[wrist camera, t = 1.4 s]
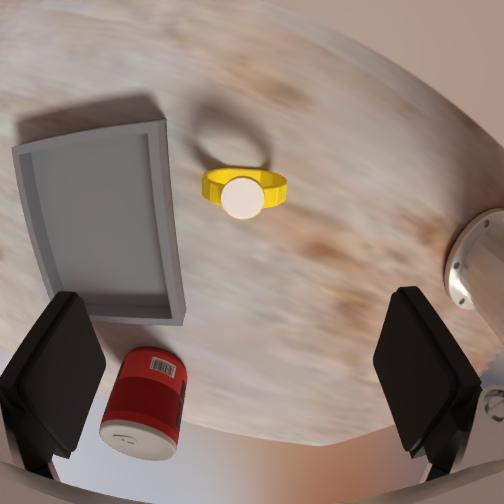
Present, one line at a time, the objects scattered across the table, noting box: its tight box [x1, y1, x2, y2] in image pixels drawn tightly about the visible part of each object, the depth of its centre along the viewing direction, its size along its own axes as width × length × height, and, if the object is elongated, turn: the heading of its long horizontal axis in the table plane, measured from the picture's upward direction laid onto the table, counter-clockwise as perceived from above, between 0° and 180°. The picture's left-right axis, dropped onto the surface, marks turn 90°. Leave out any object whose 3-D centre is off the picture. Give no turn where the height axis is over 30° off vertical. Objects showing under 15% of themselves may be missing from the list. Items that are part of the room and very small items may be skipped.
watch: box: [202, 167, 287, 219], centre depth 22 cm, size 6×3×6 cm, turn 86°
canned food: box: [99, 347, 188, 461], centre depth 30 cm, size 8×8×11 cm
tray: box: [12, 119, 186, 326], centre depth 26 cm, size 14×18×2 cm
